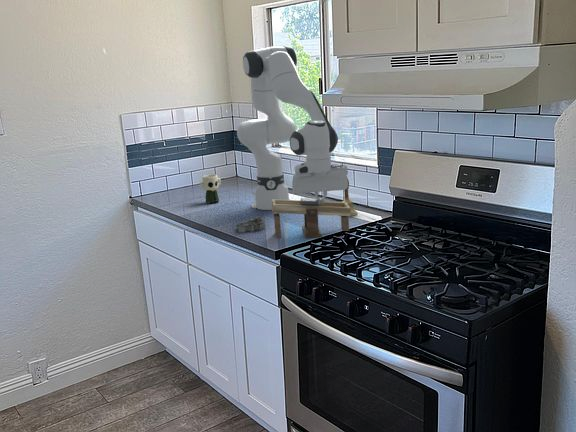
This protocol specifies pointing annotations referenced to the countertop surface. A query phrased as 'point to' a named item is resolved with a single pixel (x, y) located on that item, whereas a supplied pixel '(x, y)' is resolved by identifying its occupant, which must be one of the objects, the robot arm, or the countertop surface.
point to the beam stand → (310, 224)
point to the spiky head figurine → (210, 187)
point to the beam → (323, 209)
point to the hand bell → (349, 202)
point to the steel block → (309, 201)
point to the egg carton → (251, 225)
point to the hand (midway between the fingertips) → (321, 203)
